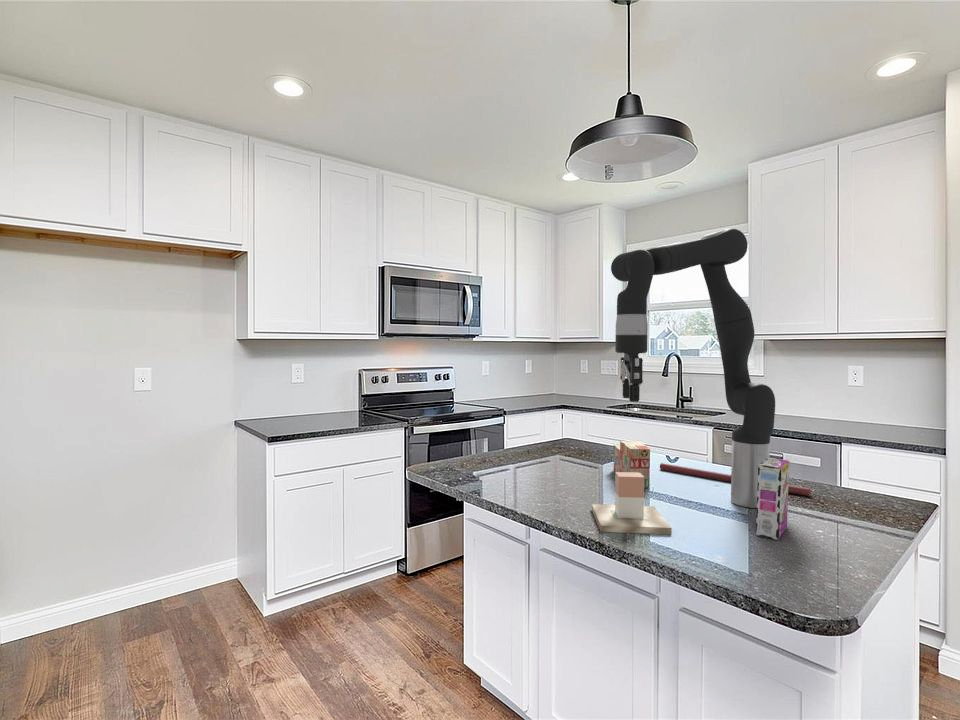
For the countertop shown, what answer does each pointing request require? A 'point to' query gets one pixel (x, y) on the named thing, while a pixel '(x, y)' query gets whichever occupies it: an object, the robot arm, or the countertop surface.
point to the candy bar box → (772, 498)
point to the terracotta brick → (629, 484)
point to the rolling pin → (723, 477)
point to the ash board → (630, 521)
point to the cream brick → (629, 507)
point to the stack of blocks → (632, 459)
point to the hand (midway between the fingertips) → (630, 399)
